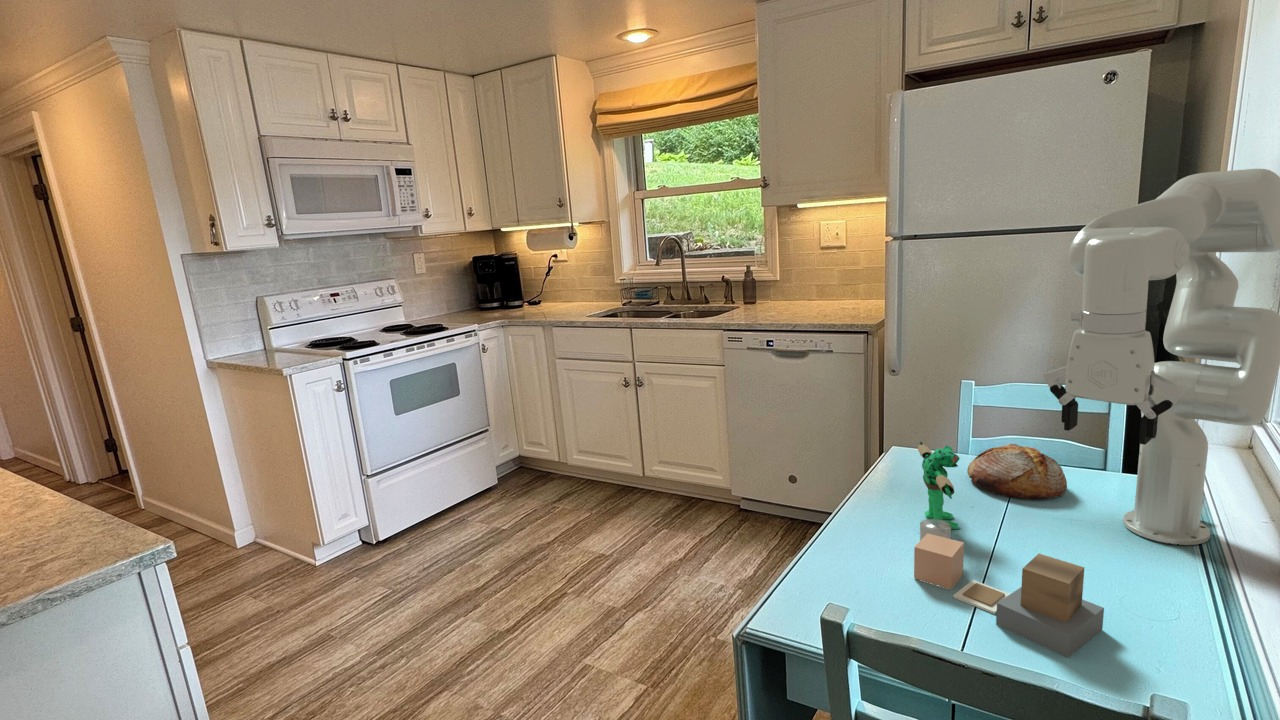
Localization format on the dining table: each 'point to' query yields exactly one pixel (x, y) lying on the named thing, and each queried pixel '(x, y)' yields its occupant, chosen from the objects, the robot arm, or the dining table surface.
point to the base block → (1050, 625)
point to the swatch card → (981, 596)
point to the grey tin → (935, 528)
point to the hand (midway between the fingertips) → (1106, 434)
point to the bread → (1018, 473)
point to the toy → (938, 480)
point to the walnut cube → (1052, 587)
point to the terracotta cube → (938, 560)
